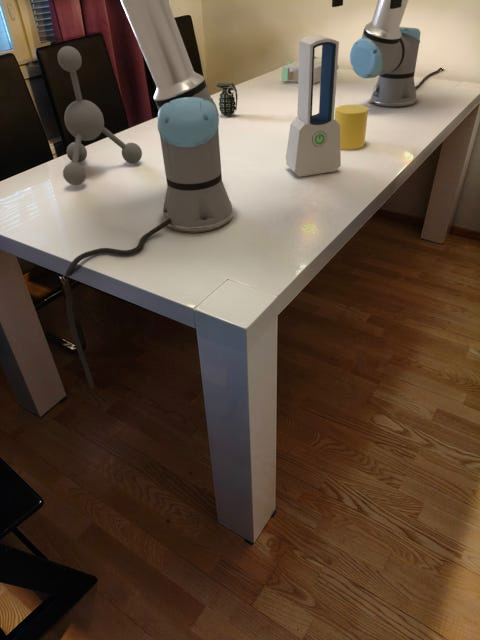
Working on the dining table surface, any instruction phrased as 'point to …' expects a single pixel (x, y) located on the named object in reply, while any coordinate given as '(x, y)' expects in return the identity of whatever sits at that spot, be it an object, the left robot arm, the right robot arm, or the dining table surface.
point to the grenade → (227, 99)
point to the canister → (352, 125)
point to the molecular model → (85, 123)
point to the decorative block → (292, 71)
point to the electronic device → (321, 129)
